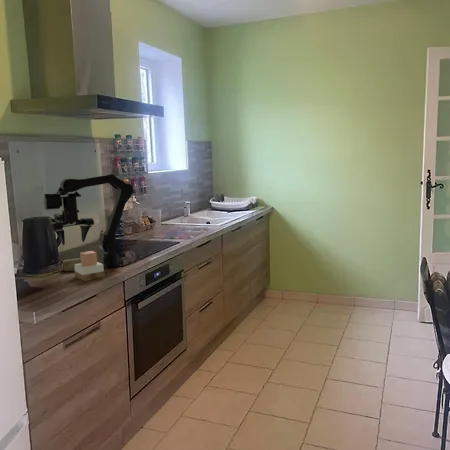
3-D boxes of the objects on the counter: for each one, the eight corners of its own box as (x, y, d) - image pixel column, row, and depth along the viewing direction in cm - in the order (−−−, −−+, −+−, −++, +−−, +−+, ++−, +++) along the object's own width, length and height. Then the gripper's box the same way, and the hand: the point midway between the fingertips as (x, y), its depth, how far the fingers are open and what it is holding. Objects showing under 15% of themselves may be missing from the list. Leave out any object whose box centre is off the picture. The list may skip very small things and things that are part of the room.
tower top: (95, 267, 201) (94, 260, 201) (103, 271, 194) (103, 264, 194) (75, 271, 196) (74, 264, 195) (82, 275, 189) (82, 268, 188)
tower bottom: (94, 274, 202) (93, 267, 201) (105, 277, 195) (104, 270, 195) (74, 278, 195) (74, 271, 195) (85, 282, 189) (84, 275, 189)
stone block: (90, 269, 209) (89, 258, 209) (63, 272, 205) (62, 261, 204) (88, 266, 215) (87, 256, 214) (62, 270, 210) (61, 259, 209)
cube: (92, 262, 198) (91, 250, 197) (97, 264, 194) (96, 252, 193) (81, 264, 195) (80, 252, 194) (85, 266, 191) (85, 254, 190)
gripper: (80, 204, 212) (83, 238, 214) (40, 209, 199) (44, 244, 201) (93, 205, 204) (96, 240, 206) (52, 210, 191) (56, 247, 193)
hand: (73, 243), depth 202 cm, fingers open, 9 cm apart
